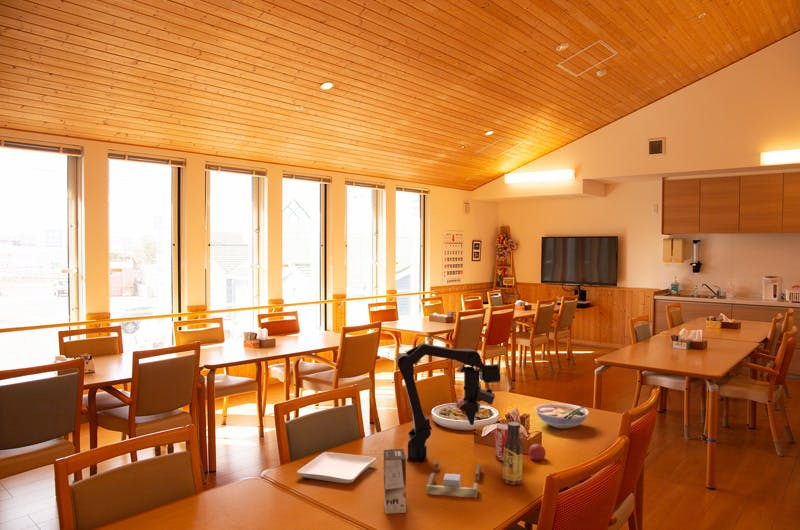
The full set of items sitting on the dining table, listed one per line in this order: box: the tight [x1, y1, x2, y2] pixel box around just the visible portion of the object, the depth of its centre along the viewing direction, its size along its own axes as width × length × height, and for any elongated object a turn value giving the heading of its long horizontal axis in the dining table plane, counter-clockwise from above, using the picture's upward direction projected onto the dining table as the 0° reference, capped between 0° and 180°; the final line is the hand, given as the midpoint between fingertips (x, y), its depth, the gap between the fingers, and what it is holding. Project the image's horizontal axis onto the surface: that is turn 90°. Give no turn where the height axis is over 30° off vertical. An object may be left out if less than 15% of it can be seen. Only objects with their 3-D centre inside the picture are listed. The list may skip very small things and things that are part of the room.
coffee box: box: [383, 448, 407, 515], centre depth 173 cm, size 9×6×16 cm
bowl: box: [431, 397, 499, 431], centre depth 260 cm, size 30×30×8 cm
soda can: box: [494, 423, 508, 462], centre depth 213 cm, size 7×7×12 cm
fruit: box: [527, 443, 547, 462], centre depth 212 cm, size 6×6×8 cm
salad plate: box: [296, 451, 377, 484], centre depth 200 cm, size 21×21×3 cm
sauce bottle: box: [502, 421, 524, 486], centre depth 190 cm, size 6×6×20 cm
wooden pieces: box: [426, 460, 481, 499], centre depth 191 cm, size 16×22×2 cm
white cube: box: [442, 473, 462, 487], centre depth 184 cm, size 5×5×4 cm
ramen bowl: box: [534, 402, 590, 430], centre depth 251 cm, size 25×23×8 cm
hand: (471, 424), depth 215 cm, fingers closed
